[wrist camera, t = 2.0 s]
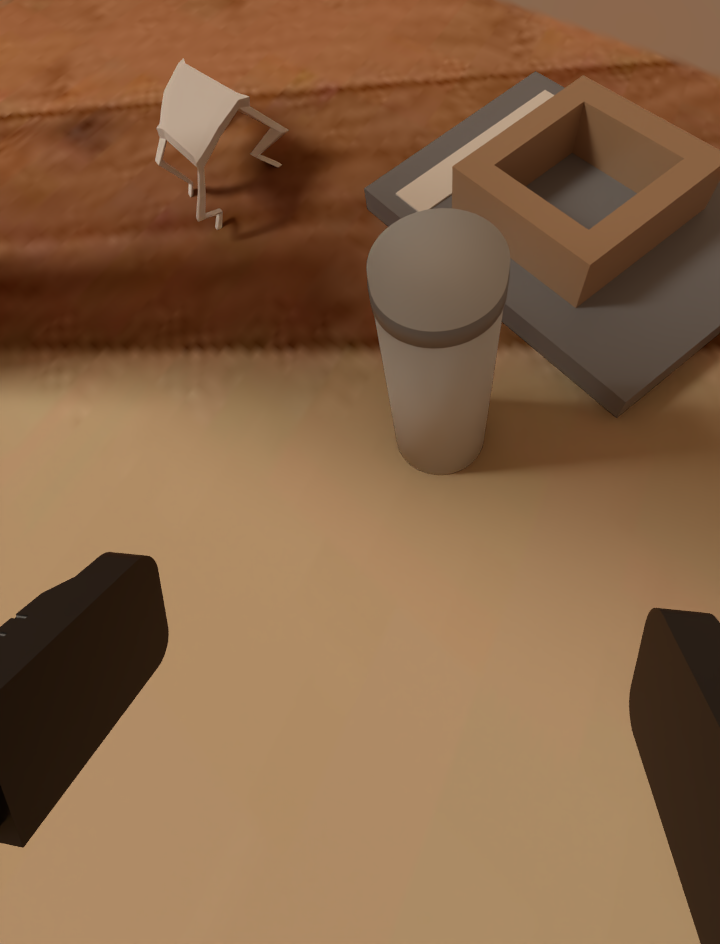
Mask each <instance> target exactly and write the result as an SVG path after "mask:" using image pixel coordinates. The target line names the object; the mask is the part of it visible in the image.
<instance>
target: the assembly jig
mask: <svg viewBox="0 0 720 944" xmlns="http://www.w3.org/2000/svg"><path fill="white" fill-rule="evenodd" d="M364 191H365V197H366V203H367V209H368V210H369V211H370V212H372V213H373V214H374V215H375V216H376V217H378V218H379V219H380V220H381V221H382V222H384V223H385V224H386V225H387V226H388V227H389V226H390V225H391V224H393V223H394V222H396V221H398V220H399V219H401V218H403V217H405V216H407V215H410V214H413V213H415V212H419V211H423V210H428V209H436V208H452V209H460V210H464V211H469V212H471V213H474V214H477V215H479V216H481V217H483V218H485V219H486V220H488V221H489V222H491V223H492V224H493V225H494V226H495V227H497V229H498V230H499V231H500V232H501V233H502V235H503V236H504V238H505V240H506V242H507V244H508V247H509V251H510V278H509V286H508V292H507V299H506V303H505V306H504V308H503V315H502V322H503V323H504V324H505V325H507V326H508V327H509V328H510V329H511V330H513V331H514V332H515V333H516V334H517V335H519V336H520V337H521V338H522V339H523V340H524V341H526V342H527V343H528V344H529V345H530V346H532V347H533V348H534V349H535V350H536V351H538V352H539V353H540V354H541V355H542V356H544V357H545V358H546V359H547V360H548V361H550V362H551V363H552V364H553V365H554V366H556V367H557V368H558V369H559V370H560V371H561V372H563V373H564V374H565V375H566V376H567V377H569V378H570V379H571V380H572V381H573V382H575V383H576V384H577V385H578V386H579V387H581V388H582V389H583V390H584V391H585V392H587V393H588V394H589V395H590V396H591V397H593V398H594V399H595V400H596V401H597V402H598V403H600V404H601V405H602V406H603V407H604V408H606V409H607V410H608V411H609V412H610V413H612V414H613V415H614V416H615V417H616V418H617V417H618V416H619V415H621V414H622V413H623V412H624V411H626V410H627V409H628V408H629V407H630V406H632V405H633V404H634V403H635V402H637V401H638V400H639V399H640V398H641V397H643V396H644V395H645V394H646V393H647V392H649V391H650V390H651V389H652V388H654V387H655V386H656V385H657V384H658V383H660V382H661V381H662V380H663V379H664V378H666V377H667V376H668V375H669V374H671V373H672V372H673V371H674V370H675V369H677V368H678V367H679V366H680V365H682V364H683V363H684V362H685V361H686V360H688V359H689V358H690V357H691V356H692V355H694V354H695V353H696V352H697V351H699V350H700V349H701V348H702V347H703V346H705V345H706V344H707V343H708V342H710V341H711V340H712V339H713V338H714V337H716V336H717V335H718V334H719V333H720V150H719V149H717V148H715V147H713V146H711V145H710V144H708V143H706V142H704V141H702V140H700V139H699V138H697V137H695V136H693V135H691V134H689V133H688V132H686V131H684V130H682V129H680V128H679V127H677V126H675V125H673V124H671V123H669V122H668V121H666V120H664V119H662V118H660V117H658V116H657V115H655V114H653V113H651V112H649V111H647V110H646V109H644V108H642V107H640V106H638V105H637V104H635V103H633V102H631V101H629V100H627V99H626V98H624V97H622V96H620V95H618V94H616V93H615V92H613V91H611V90H609V89H607V88H606V87H604V86H602V85H600V84H598V83H596V82H595V81H593V80H591V79H589V78H587V77H585V76H584V75H583V76H582V77H580V78H579V79H577V80H576V81H574V82H573V83H571V84H570V85H569V86H567V87H566V88H564V87H562V86H560V85H559V84H557V83H555V82H553V81H552V80H550V79H548V78H546V77H545V76H543V75H541V74H539V73H538V72H536V71H535V72H534V73H532V74H531V75H529V76H528V77H527V78H525V79H524V80H522V81H521V82H519V83H518V84H516V85H515V86H513V87H512V88H510V89H509V90H508V91H506V92H505V93H503V94H502V95H500V96H499V97H497V98H496V99H494V100H493V101H491V102H490V103H489V104H487V105H486V106H484V107H483V108H481V109H480V110H478V111H477V112H475V113H474V114H472V115H471V116H470V117H468V118H467V119H465V120H464V121H462V122H461V123H459V124H458V125H456V126H455V127H453V128H452V129H451V130H449V131H448V132H446V133H445V134H443V135H442V136H440V137H439V138H437V139H436V140H434V141H433V142H431V143H430V144H429V145H427V146H426V147H424V148H423V149H421V150H420V151H418V152H417V153H415V154H414V155H412V156H411V157H410V158H408V159H407V160H405V161H404V162H402V163H401V164H399V165H398V166H396V167H395V168H393V169H392V170H391V171H389V172H388V173H386V174H385V175H383V176H382V177H380V178H379V179H377V180H376V181H374V182H373V183H372V184H370V185H369V186H367V187H366V188H364Z"/></svg>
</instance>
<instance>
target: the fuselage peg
mask: <svg viewBox="0 0 720 944" xmlns="http://www.w3.org/2000/svg"><path fill="white" fill-rule="evenodd" d="M366 269H367V277H368V279H367V284H368V292H369V297H370V303H371V307H372V311H373V314H374V317H375V322H376V328H377V333H378V339H379V344H380V350H381V356H382V361H383V367H384V372H385V378H386V384H387V389H388V395H389V400H390V406H391V412H392V417H393V423H394V428H395V434H396V439H397V444H398V448H399V450H400V453H401V454H402V456H403V457H404V459H405V460H406V461H407V462H408V463H409V464H410V465H411V466H413V467H414V468H416V469H418V470H420V471H422V472H425V473H428V474H434V475H445V474H451V473H455V472H458V471H460V470H462V469H464V468H466V467H467V466H468V465H470V464H471V463H472V462H473V461H474V460H475V459H476V457H477V456H478V455H479V453H480V451H481V449H482V446H483V442H484V436H485V429H486V422H487V416H488V409H489V402H490V395H491V389H492V382H493V375H494V369H495V362H496V355H497V348H498V342H499V335H500V328H501V322H502V315H503V308H504V306H505V303H506V299H507V292H508V286H509V278H510V251H509V247H508V244H507V242H506V240H505V238H504V236H503V235H502V233H501V232H500V231H499V230H498V229H497V227H495V226H494V225H493V224H492V223H491V222H489V221H488V220H486V219H485V218H483V217H481V216H479V215H477V214H474V213H471V212H469V211H464V210H460V209H452V208H436V209H428V210H423V211H419V212H415V213H413V214H410V215H407V216H405V217H403V218H401V219H399V220H398V221H396V222H394V223H393V224H391V225H390V226H389V227H388V228H386V229H385V230H384V231H383V232H382V233H381V234H380V235H379V237H378V238H377V239H376V241H375V242H374V244H373V246H372V247H371V250H370V252H369V255H368V259H367V268H366Z"/></svg>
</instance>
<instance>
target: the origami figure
mask: <svg viewBox="0 0 720 944" xmlns="http://www.w3.org/2000/svg"><path fill="white" fill-rule="evenodd" d="M237 111H239V112H241V113H243V114H245V115H247V116H249V117H251V118H253V119H255V120H257V121H259V122H261V123H263V124H265V125H267V126H269V127H271V128H270V129H269V130H268V132H267V133H266V134H265V135H264V137H263V138H262V139H261V141H260V142H259V143H258V144H257V146H256V147H255V148H254V150H253V151H252V152H251V153H250V154H251V155H252V156H254V157H256V158H258V159H260V160H262V161H265V162H267V163H269V164H271V165H274V166H276V167H280V166H281V165H282V164H280V163H279V162H277V161H275V160H273V159H270V158H268V157H265V156H263V155H260V154H261V153H263V152H264V151H265V150H266V149H267V148H269V147H270V146H271V145H272V144H273V143H274V142H276V141H277V140H278V139H279V138H280V137H282V136H283V135H284V134H285V133H286V132H287V131H289V130H288V129H286V128H285V127H283V126H281V125H280V124H278V123H277V122H275V121H273V120H272V119H270V118H268V117H267V116H265V115H263V114H262V113H260V112H259V111H257V110H255V109H254V108H252V107H250V97H249V96H246V95H243V94H239V93H236V92H234V91H233V90H231V89H229V88H227V87H226V86H224V85H222V84H220V83H219V82H217V81H215V80H213V79H212V78H210V77H208V76H206V75H205V74H203V73H201V72H199V71H198V70H196V69H194V68H192V67H191V66H189V65H187V64H185V61H184V58H183V59H182V60H181V61H180V62H179V63H178V65H177V67H176V69H175V71H174V73H173V75H172V77H171V79H170V81H169V82H168V84H167V86H166V88H165V90H164V95H163V101H162V107H161V117H160V124H159V125H158V126H157V131H158V133H159V136H160V140H159V144H158V149H157V154H156V159H155V161H156V162H157V164H158V165H159V166H161V167H163V168H164V169H166V170H168V171H169V172H171V173H173V174H174V175H176V176H178V177H179V178H181V179H182V180H184V181H186V182H187V183H189V191H188V194H189V195H190V197H192V195H193V182H192V181H191V180H190V179H189V178H188V177H186V176H185V175H183V174H182V173H181V172H179V171H178V170H176V169H175V168H174V167H172V166H171V165H169V164H168V163H167V162H165V161H164V160H163V156H164V151H165V147H166V142H167V141H168V142H169V143H171V144H172V145H173V146H174V147H175V148H176V149H177V150H178V151H179V152H181V153H182V154H183V155H184V156H185V157H186V158H187V159H188V160H190V161H191V162H192V163H193V164H194V165H195V166H196V167H197V168H198V199H197V211H196V218H197V220H198V221H201V220H204V219H207V218H210V217H213V216H215V215H217V216H216V224H215V228H216V229H217V230H219V229H221V228H222V213H223V211H222V210H221V209H220V208H219V209H216V210H213V211H210V212H207V213H205V208H206V189H205V175H204V166H205V164H206V163H207V161H208V159H209V157H210V155H211V154H212V152H213V150H214V148H215V146H216V144H217V142H218V140H219V138H220V136H221V135H222V133H223V132H224V130H225V129H226V127H227V126H228V124H229V123H230V121H231V120H232V118H233V117H234V115H235V114H236V112H237Z"/></svg>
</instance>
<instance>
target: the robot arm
mask: <svg viewBox="0 0 720 944" xmlns="http://www.w3.org/2000/svg"><path fill="white" fill-rule="evenodd" d="M167 644H168V624H167V618H166V612H165V607H164V601H163V595H162V589H161V584H160V578H159V572H158V567H157V564H156V562H155V560H154V559H153V558H152V557H150V556H144V555H134V554H124V553H114V552H107V553H104V554H102V555H101V556H99V557H98V558H97V559H96V560H95V561H93V562H92V563H91V564H90V565H89V566H87V567H86V568H85V569H84V570H83V571H81V572H80V573H79V574H78V575H77V576H75V577H73V578H71V579H69V580H67V581H65V582H63V583H61V584H59V585H57V586H55V587H53V588H51V589H49V590H47V591H45V592H44V593H42V594H40V595H39V596H38V597H37V598H35V599H34V600H33V601H32V602H30V603H29V604H28V605H27V606H25V607H24V608H23V609H22V610H21V611H19V612H18V613H17V614H16V618H15V619H14V618H11V619H9V620H8V621H7V622H6V623H4V624H3V625H2V626H1V627H0V843H4V844H9V845H13V846H18V847H24V846H25V845H26V843H27V842H28V841H29V839H30V838H31V837H32V835H33V834H34V833H35V831H36V830H37V829H38V827H39V826H40V825H41V823H42V822H43V821H44V819H45V818H46V817H47V815H48V814H49V813H50V811H51V810H52V809H53V807H54V806H55V805H56V803H57V802H58V801H59V799H60V798H61V797H62V795H63V794H64V793H65V791H66V790H67V789H68V787H69V786H70V784H71V783H72V782H73V780H74V779H75V778H76V776H77V775H78V774H79V772H80V771H81V770H82V768H83V767H84V766H85V764H86V763H87V762H88V760H89V759H90V758H91V756H92V755H93V754H94V752H95V751H96V750H97V748H98V747H99V746H100V744H101V743H102V742H103V740H104V739H105V738H106V736H107V735H108V734H109V732H110V731H111V730H112V728H113V727H114V726H115V724H116V723H117V721H118V720H119V719H120V717H121V716H122V715H123V713H124V712H125V711H126V709H127V708H128V707H129V705H130V704H131V703H132V701H133V700H134V699H135V697H136V696H137V695H138V693H139V692H140V691H141V689H142V688H143V687H144V685H145V684H146V683H147V681H148V680H149V679H150V677H151V676H152V675H153V673H154V672H155V671H156V669H157V668H158V666H159V665H160V663H161V661H162V659H163V657H164V655H165V652H166V648H167ZM629 711H630V721H631V727H632V731H633V735H634V738H635V741H636V744H637V747H638V750H639V754H640V757H641V760H642V763H643V766H644V769H645V772H646V775H647V778H648V781H649V785H650V788H651V791H652V794H653V797H654V800H655V803H656V806H657V809H658V812H659V816H660V819H661V822H662V825H663V828H664V831H665V834H666V837H667V840H668V844H669V847H670V850H671V853H672V856H673V859H674V862H675V865H676V868H677V871H678V875H679V878H680V881H681V884H682V887H683V890H684V893H685V896H686V899H687V902H688V906H689V909H690V912H691V915H692V918H693V921H694V924H695V927H696V930H697V934H698V937H699V940H700V943H701V944H720V623H719V621H718V620H717V619H716V617H715V616H713V615H712V614H710V613H701V612H691V611H681V610H671V609H661V608H653V609H652V610H651V611H650V612H649V614H648V616H647V619H646V623H645V627H644V632H643V636H642V640H641V645H640V649H639V653H638V658H637V662H636V666H635V671H634V675H633V679H632V684H631V689H630V697H629Z"/></svg>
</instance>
